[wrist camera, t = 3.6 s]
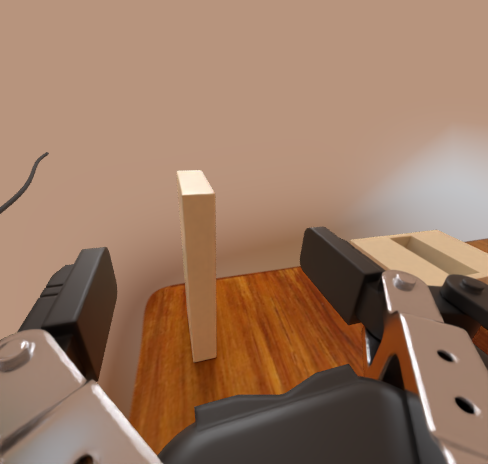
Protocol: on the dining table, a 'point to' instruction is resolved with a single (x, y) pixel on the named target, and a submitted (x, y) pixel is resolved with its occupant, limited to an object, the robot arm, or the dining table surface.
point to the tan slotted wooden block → (426, 255)
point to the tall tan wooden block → (199, 260)
